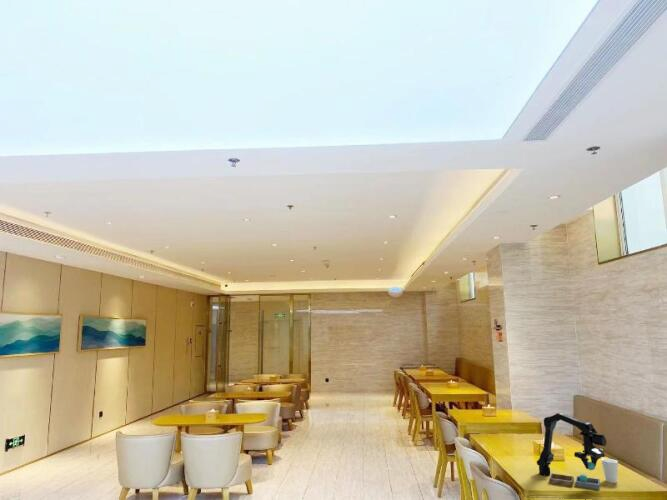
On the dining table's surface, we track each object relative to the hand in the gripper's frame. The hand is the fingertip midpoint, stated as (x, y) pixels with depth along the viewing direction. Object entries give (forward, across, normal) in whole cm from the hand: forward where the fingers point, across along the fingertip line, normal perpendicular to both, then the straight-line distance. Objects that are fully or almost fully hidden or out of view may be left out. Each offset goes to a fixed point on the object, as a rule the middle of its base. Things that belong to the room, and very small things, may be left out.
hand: (590, 468), depth 297 cm
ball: (+8, 0, +7) cm, 11 cm away
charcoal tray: (+11, 0, +4) cm, 12 cm away
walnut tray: (+11, -12, +13) cm, 21 cm away
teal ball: (-2, 0, 0) cm, 2 cm away
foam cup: (+11, +21, +6) cm, 25 cm away
